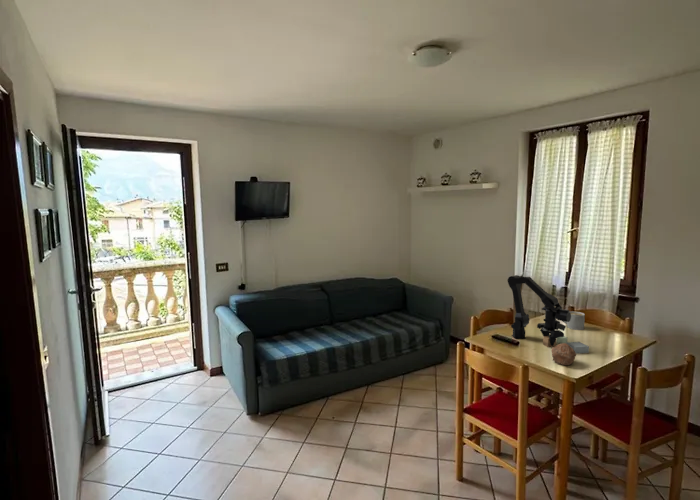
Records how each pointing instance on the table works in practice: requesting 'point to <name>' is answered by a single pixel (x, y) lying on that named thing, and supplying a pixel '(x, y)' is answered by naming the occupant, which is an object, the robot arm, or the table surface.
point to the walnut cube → (547, 342)
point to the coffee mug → (576, 321)
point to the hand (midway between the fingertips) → (549, 343)
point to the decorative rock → (563, 354)
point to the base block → (578, 347)
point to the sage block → (562, 339)
